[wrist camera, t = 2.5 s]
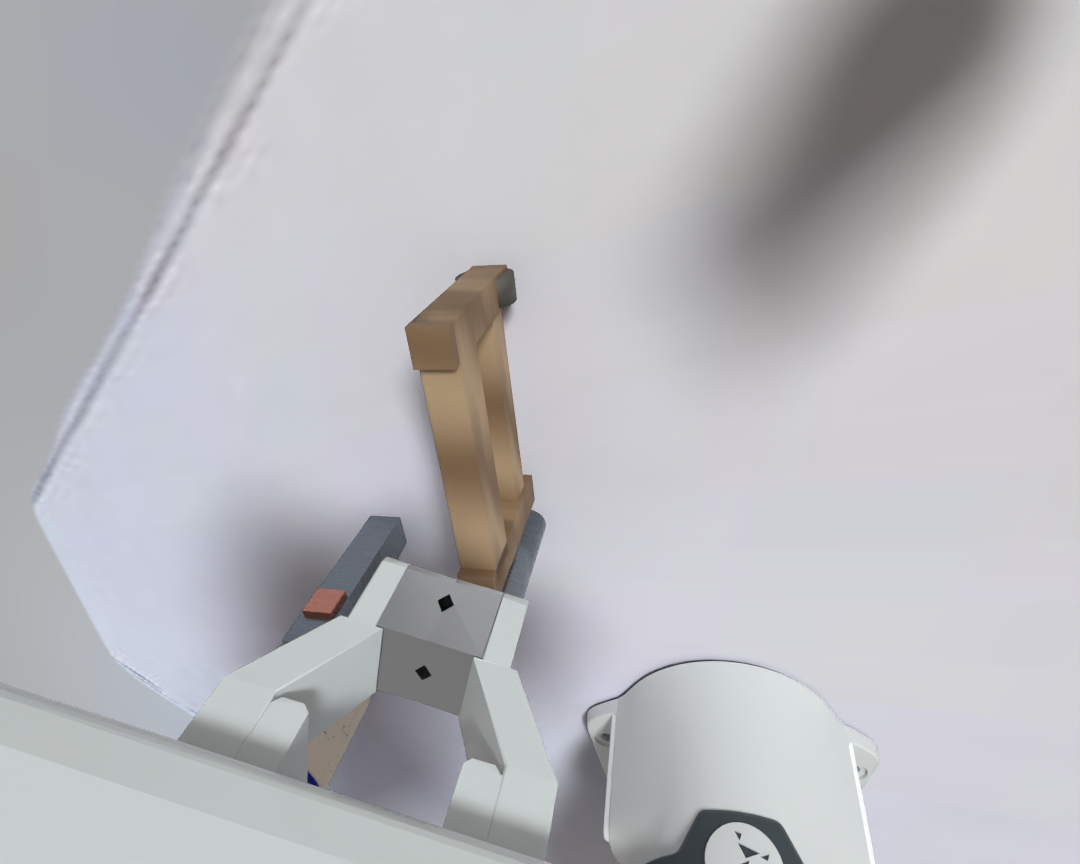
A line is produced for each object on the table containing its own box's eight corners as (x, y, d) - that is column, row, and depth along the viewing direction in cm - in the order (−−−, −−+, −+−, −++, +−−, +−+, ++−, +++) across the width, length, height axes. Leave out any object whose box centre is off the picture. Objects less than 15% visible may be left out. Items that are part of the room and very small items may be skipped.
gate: (544, 495, 34) (507, 606, 27) (500, 493, 35) (452, 601, 27) (519, 261, 28) (462, 325, 21) (465, 264, 28) (391, 327, 21)
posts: (548, 551, 37) (508, 693, 28) (377, 540, 39) (293, 668, 31) (544, 510, 35) (499, 647, 27) (366, 501, 38) (275, 624, 29)
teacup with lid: (334, 627, 45) (235, 783, 35) (397, 707, 48) (323, 869, 38) (221, 650, 49) (105, 794, 39) (286, 722, 53) (195, 871, 43)
